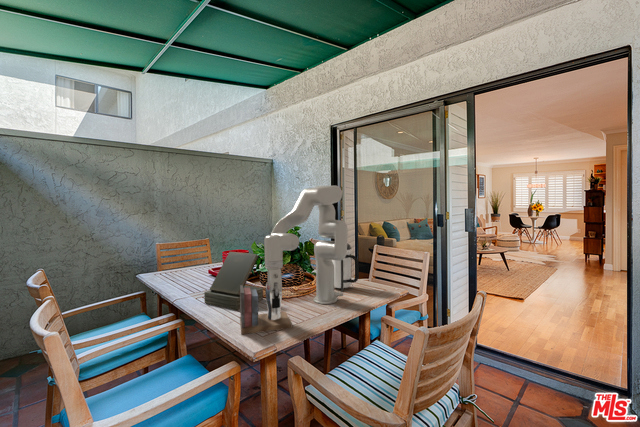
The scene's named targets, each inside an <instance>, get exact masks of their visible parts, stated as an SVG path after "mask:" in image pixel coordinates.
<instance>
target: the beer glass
mask: <svg viewBox="0 0 640 427" xmlns="http://www.w3.org/2000/svg"><path fill="white" fill-rule="evenodd" d="M274 291H275V290H274ZM279 296H280V308H272V298H273V297H272V293H271V292H270V288H269V285H268V282H266V283H265V302H266V307H267V313H266V314H267V320H269V321H277V320H280V319H281V313H280V312H281V305H282V300H283V299H282V298H283V291H282V292H280V291H279Z"/></svg>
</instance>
